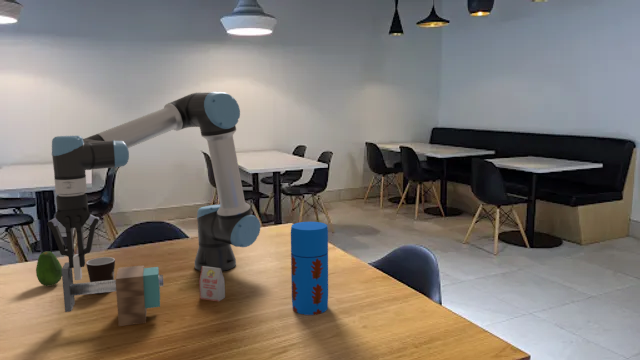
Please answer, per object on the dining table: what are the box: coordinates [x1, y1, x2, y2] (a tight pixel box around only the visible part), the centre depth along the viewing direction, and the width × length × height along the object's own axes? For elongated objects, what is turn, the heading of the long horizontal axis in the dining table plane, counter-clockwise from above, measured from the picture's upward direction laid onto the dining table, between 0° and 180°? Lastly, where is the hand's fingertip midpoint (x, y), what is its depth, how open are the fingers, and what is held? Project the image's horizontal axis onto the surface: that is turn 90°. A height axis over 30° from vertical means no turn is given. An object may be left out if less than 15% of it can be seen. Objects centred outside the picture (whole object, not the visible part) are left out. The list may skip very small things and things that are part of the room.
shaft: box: [61, 261, 164, 313], centre depth 142 cm, size 26×6×12 cm, turn 107°
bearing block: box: [115, 265, 148, 327], centre depth 144 cm, size 7×10×14 cm
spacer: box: [143, 266, 161, 309], centre depth 146 cm, size 4×7×10 cm, turn 17°
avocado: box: [35, 250, 63, 287], centre depth 170 cm, size 8×8×12 cm
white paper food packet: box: [198, 266, 226, 302], centre depth 159 cm, size 4×7×10 cm, turn 70°
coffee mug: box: [85, 256, 116, 295], centre depth 167 cm, size 12×9×10 cm
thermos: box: [290, 221, 329, 316], centre depth 149 cm, size 11×11×25 cm
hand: (78, 278), depth 139 cm, fingers closed
